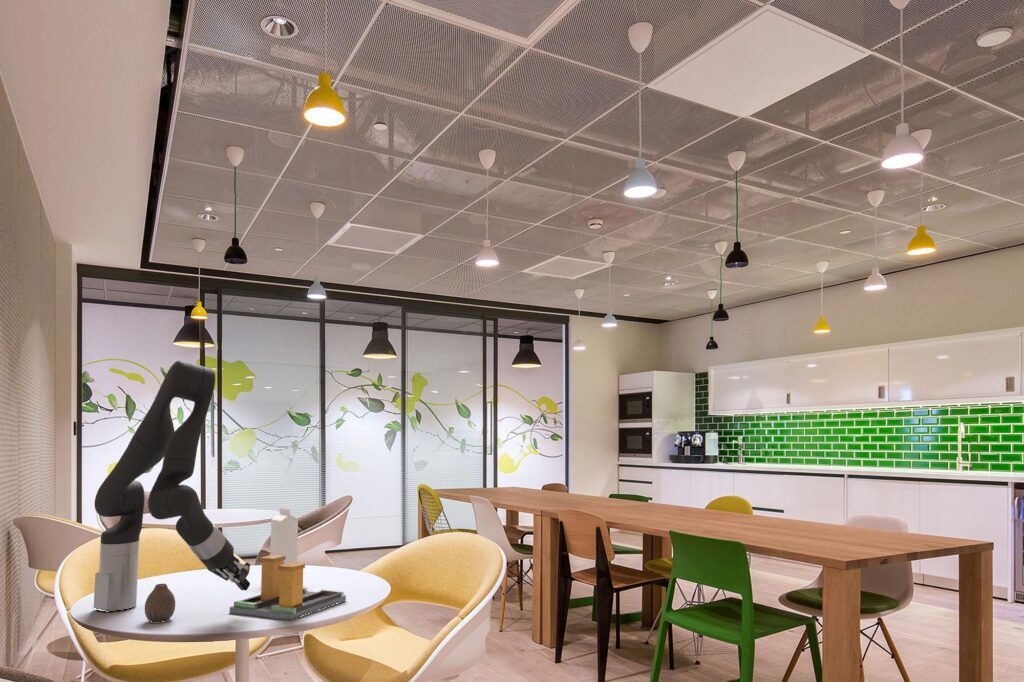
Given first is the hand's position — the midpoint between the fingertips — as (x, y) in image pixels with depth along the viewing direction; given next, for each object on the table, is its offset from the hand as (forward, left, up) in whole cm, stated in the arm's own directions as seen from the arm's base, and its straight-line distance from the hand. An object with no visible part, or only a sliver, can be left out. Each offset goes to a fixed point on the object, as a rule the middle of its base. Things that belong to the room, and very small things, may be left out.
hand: (246, 587), depth 190 cm
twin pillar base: (+10, -5, -7) cm, 13 cm away
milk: (+33, +22, -7) cm, 40 cm away
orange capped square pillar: (+10, +1, -5) cm, 11 cm away
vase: (-15, +14, -7) cm, 21 cm away
